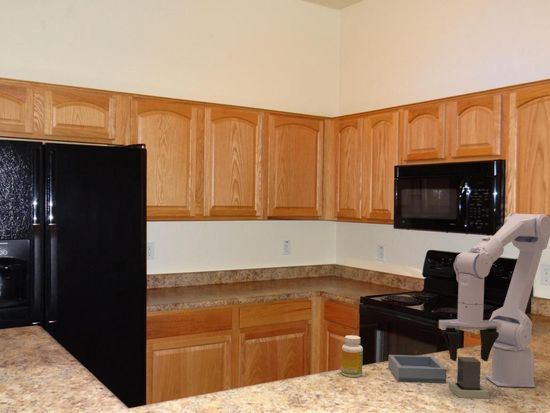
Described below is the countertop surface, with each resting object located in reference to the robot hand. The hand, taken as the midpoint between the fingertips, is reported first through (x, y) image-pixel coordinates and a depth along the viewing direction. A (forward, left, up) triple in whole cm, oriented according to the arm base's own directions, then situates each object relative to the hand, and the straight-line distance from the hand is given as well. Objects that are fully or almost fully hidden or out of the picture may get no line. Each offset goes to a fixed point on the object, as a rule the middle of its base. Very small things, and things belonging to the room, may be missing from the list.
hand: (468, 360), depth 131 cm
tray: (+9, -13, -8) cm, 18 cm away
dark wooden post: (0, 0, -8) cm, 8 cm away
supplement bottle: (+26, -12, -8) cm, 30 cm away
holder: (0, 0, -8) cm, 8 cm away
